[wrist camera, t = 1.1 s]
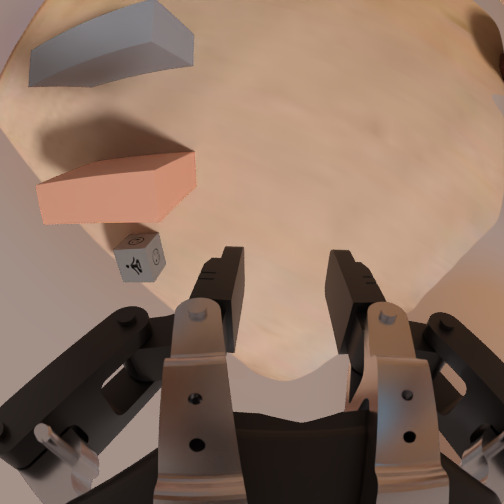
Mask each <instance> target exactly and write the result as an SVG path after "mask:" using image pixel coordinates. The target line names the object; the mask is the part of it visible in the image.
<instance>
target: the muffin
mask: <svg viewBox="0 0 504 504" xmlns="http://www.w3.org/2000/svg"><path fill="white" fill-rule="evenodd" d="M499 67H500V70H501V73H502V76H503V80H504V53H503V54H500V66H499Z"/></svg>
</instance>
